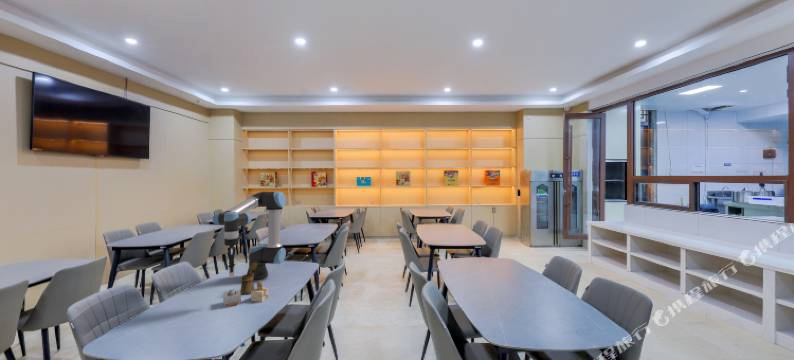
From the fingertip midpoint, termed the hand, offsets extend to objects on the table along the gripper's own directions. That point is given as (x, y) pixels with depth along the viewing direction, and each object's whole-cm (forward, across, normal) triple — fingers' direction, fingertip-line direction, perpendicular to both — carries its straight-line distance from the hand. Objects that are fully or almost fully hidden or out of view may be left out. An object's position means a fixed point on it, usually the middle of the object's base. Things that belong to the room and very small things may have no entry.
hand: (231, 277), depth 182 cm
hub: (+16, 0, 0) cm, 16 cm away
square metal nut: (+14, 0, 0) cm, 14 cm away
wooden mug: (+16, -17, +11) cm, 26 cm away
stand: (+16, +1, +15) cm, 22 cm away
